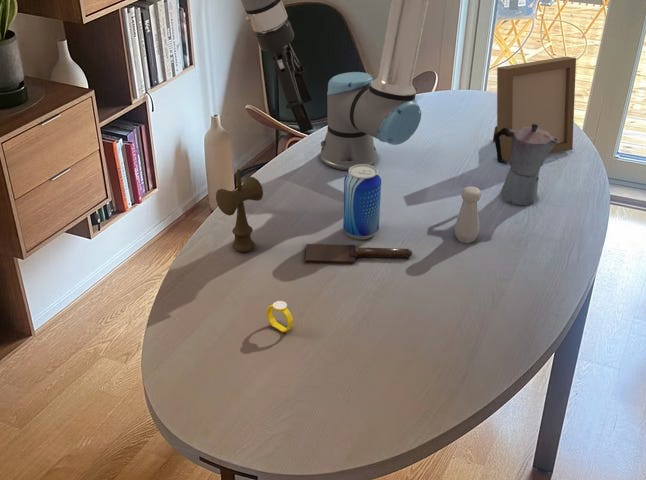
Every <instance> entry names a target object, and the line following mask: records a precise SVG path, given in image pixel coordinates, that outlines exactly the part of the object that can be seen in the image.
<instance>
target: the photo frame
mask: <svg viewBox="0 0 646 480" xmlns="http://www.w3.org/2000/svg"><path fill="white" fill-rule="evenodd" d="M576 69H577V57H573V56H561V57H554V58H553V57H552V58H548V59H542V60H536V61H535V60H534V61H529V62H523V63H516V64H511V65H503V66H498V67H496V76H497V77H496V85H497V86H496V96H497V97H496V126H494V132H493V137H492V142H495V141H494V135H495V134H496V133H498V131H500V130H501V129H503V128H507V129H514V130H517V129H518V128H520V127H532V124H536V125H538V128H539V129H542V130H544V131H547V132H548V133H549V134H550V136H553V137H555V138H556V139H558V141H559V143H557V144H556V145H555V146H554V147H553V149H552V150H551V151H550V152H549V154H548V155H552V154H558V153H562V152H563V153H564V152H567V151H572V150H573V148H574V147H573V145H574V123H575V122H574V121H575V120H574V119H575V95H576ZM499 139H500V146H501V155H502V159H503V160H507V161H508V162H507V164H510V162H511V159H510V158H511V146H512V138H509V137H507V136H505V135H501V136H500V137H499ZM548 155H547V156H548ZM496 161H498V158H497V157H496Z"/></svg>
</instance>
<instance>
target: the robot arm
mask: <svg viewBox="0 0 646 480" xmlns="http://www.w3.org/2000/svg"><path fill="white" fill-rule="evenodd" d="M240 2H241V4H242V7H243V8H244V11H245V12H246V15H247V16H245V20H246V22H250V25H251V28H252V30H253V31H254V32H255V33H254V36H255V38H256V41H257V43H258V46H259V48H260V49H261V50H262V51H263V52H272V60H273V61H272V62H273V65H274V66H275V67H274V68H275V69H276V73H277V75H278V78H279V81H280V84H281V88H282V90H283V94H284V96H285V100H286V105H285V107H286V109H287V110H289V109H290V110H291V111H292V115H293V116H294V119H295V121H296V124H297V126H298V129H299V132H300V133H301V134H303V133H306V132H310V131H313V130H314V125H313V124H312V121H311V118H310V116H309V113H308V111H307V108H306V105H305V104H306V103H308V102H312V101H313V98H312V95H311V93H310V90H309V88H308V85H307V83H306V80H305V77H304V74H303V72H305V68H304V66H303V65H302V66H301V62H300V61H299V59H298V57H297V55H296V52H295V51H294V48H293V47H292V45H291V43H292V41H294V38H295V32H294V30H293V27H292V24H291V21H290V20H289V19H288V17H289V16H288V13H287V10H286V8H285V4H284V2H283V0H240ZM390 2H391V3H390V8H389V14H388V19H387V24H386V29H385V35H384V41H383V45H382V51H381V58H380V62H379V67H378V74H377V77H376V78H375V79H374V77H373V76H372V75H371V73H368V72H361V71H351V72H344V73H339V74H336V75H334V76H333V77H331V78H330V79H329V80H328V83H327V92H326V99H327V101H326V103H327V104H326V105H327V106H326V107H327V109H326V111H327V115H326V116H327V132H326V134H325V137H324V140H322V141H320V148H321V149H320V160H321V162H322V163H323V164H324V165H326V166H328V167H330V168H332V169H334V170H338V171H339V170H340V171H349V168H350V167H352V166H354V165H359V164H366V165H371V166H373V165H374V164H375V163H376V162H377V150H376V146H375V143H374V139H376V140H378V141H379V142H382V143H386V144H389V145H393V146H398V145H401V144H404V143H406V142H407V141H408V140H409V139H410V138H411V137H412V136H413V135H414V134H415V133H416V131H417V129H418V128H419V126H420V123H421V120H422V110H421V107H420V105H419V104H418V102H415V100H416V95H417V91H418V88H417V87H414V85H413V81H414V80H413V79H414V75H415V71H416V70H415V69H416V65H417V59H418V55H419V50H420V45H421V40H422V35H423V31H424V26H425V21H426V15H427V11H428V5H429V0H391V1H390ZM373 138H374V139H373Z"/></svg>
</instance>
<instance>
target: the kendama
mask: <svg viewBox="0 0 646 480" xmlns="http://www.w3.org/2000/svg"><path fill="white" fill-rule="evenodd" d="M263 196H264V191H263V186H262V184H261V182H260V181H259V180H258V179H257V178H256V177H254V176H248V177H246V178H245V179H244V181H243V182H242V177H241V171H240V169H239V168H237V169H236V189H234V190H228V189H225V188H220V189H217V190H216V192H215V200H216V204H217V208H218V209H219V210H220V211H221V212H222V213H223V214H224V215H226V216H234V214H235V213H236V219H235V225H234V227H233V228H232V230H231V231H232V233H233V236H234V240H233V242H232V243H231V248H232V250H234V251H235V252H238V253H248V252H250V251H251V250H253V249H254V248H255V246H256V244H255V241H253V239H252V237H251V236H252V233H253V227H252V226H251V225H249V222H248V217H247V214H246V209H245V203H244V202H245V201H248V200H249V201H254V202H255V201H257V202H258V201H261V200H262V199H263Z"/></svg>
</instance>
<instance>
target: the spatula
mask: <svg viewBox="0 0 646 480" xmlns="http://www.w3.org/2000/svg"><path fill="white" fill-rule="evenodd" d="M412 256H413V251H412V250H411V249H410V248H399V247H398V248H396V247H395V248H394V247H393V248H392V247H356V245H355V244H330V243H329V244H328V243H327V244H326V243H324V244H323V243H306V250H305V258H304V263H305V264H306V263H307V264H342V265H343V264H345V265H346V264H349V265H351V264H352V265H354V264H355V261H356V260H358V258H359V257H364V258H365V257H367V258H368V257H369V258H406V259H407V258H411V257H412Z"/></svg>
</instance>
